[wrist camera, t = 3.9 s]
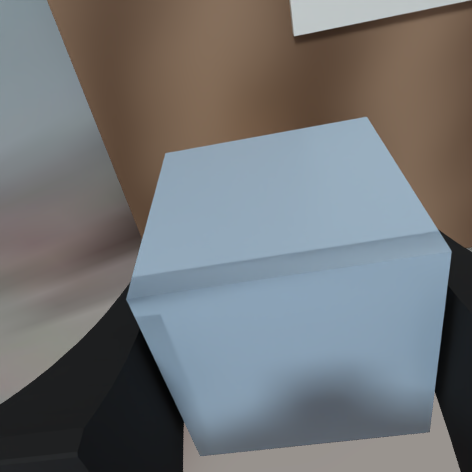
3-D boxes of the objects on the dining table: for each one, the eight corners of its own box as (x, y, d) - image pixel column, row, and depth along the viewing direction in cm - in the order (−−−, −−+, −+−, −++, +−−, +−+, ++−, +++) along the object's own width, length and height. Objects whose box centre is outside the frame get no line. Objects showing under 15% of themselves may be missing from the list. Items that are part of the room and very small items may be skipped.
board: (759, -591, 9) (812, -641, 8) (543, 221, 21) (555, 234, 20) (-68, -329, 11) (-92, -347, 10) (166, 279, 23) (163, 292, 22)
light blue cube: (366, 116, 12) (451, 251, 8) (369, 271, 16) (429, 432, 11) (165, 153, 13) (125, 299, 8) (209, 294, 16) (200, 456, 12)
